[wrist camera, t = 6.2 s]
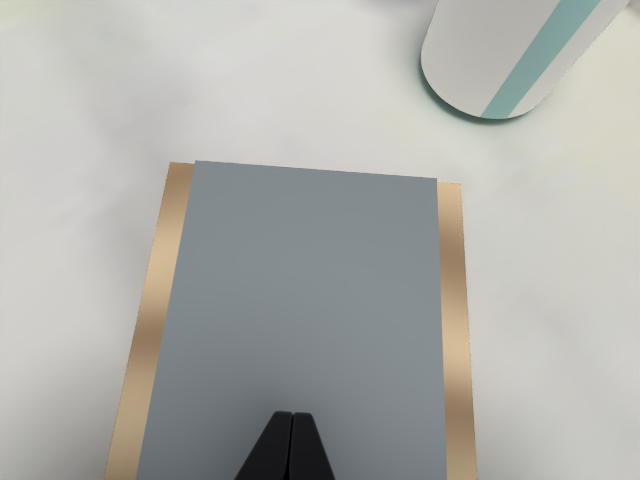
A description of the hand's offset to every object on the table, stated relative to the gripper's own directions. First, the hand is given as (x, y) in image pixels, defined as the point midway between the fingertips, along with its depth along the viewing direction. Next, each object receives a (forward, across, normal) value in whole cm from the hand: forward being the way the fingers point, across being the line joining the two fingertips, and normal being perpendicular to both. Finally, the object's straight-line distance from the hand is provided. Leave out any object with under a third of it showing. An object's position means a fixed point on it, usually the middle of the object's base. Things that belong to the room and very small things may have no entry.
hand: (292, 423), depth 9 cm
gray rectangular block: (+2, 0, +6) cm, 7 cm away
